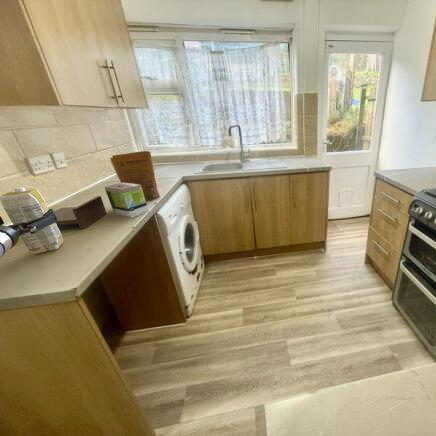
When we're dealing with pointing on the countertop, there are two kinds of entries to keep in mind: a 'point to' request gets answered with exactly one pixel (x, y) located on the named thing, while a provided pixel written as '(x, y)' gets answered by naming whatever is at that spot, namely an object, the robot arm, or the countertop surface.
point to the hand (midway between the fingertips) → (27, 215)
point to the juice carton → (29, 210)
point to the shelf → (82, 213)
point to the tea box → (127, 199)
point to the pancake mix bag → (137, 171)
